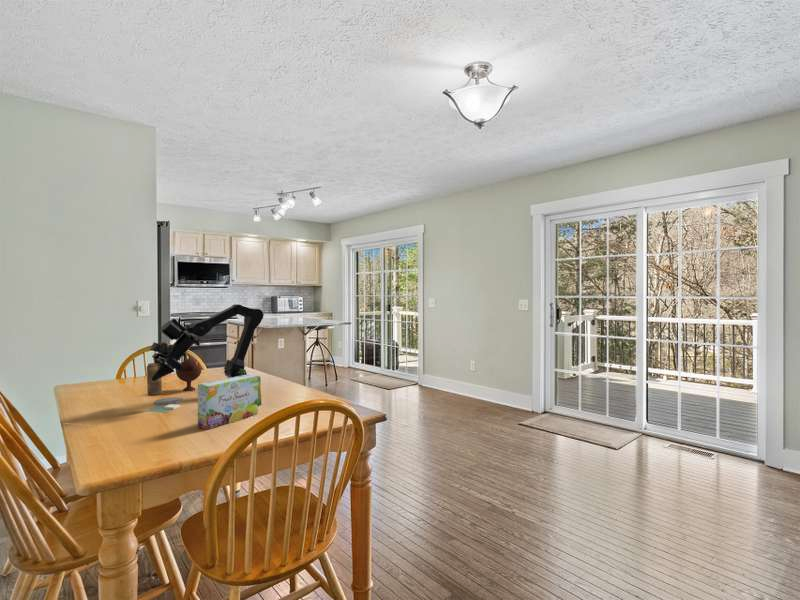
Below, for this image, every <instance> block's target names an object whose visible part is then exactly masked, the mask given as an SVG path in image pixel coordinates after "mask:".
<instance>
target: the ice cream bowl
mask: <svg viewBox="0 0 800 600" xmlns="http://www.w3.org/2000/svg"><path fill="white" fill-rule="evenodd" d="M180 363H181V364H182V369H181V370H180V371H179V372H178V371H176V370H175V374H176V376H177V378H178V379H179V380H181V381H182V382H185V383H186V387H184V388H183V389H182V392H183V391H190V392H194V391H196V388H195V387H193V386H192V382H193V381H196V380H197V379H198V378H199V377H200V376H201V373H202V370H203V369H202V368H201V367H200V365H199V364H197V360H196V359H194V358H192V357H191V358H190V357H188V358H186V359H184V360H183V361H181V362H180ZM193 390H194V391H193Z"/></svg>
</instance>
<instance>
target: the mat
mask: <svg viewBox="0 0 800 600" xmlns="http://www.w3.org/2000/svg"><path fill="white" fill-rule="evenodd" d="M180 408H181V404H168V405H157V406H153V407H151V408H148V409H145V410H144V412H151V413H152V412H153V413H164V414H165V413H169V412H171V411H174V410H177V409H180Z"/></svg>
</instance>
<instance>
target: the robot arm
mask: <svg viewBox="0 0 800 600" xmlns="http://www.w3.org/2000/svg"><path fill="white" fill-rule="evenodd" d="M237 315H238V316H241V317H244V318H243V328H242V332H241V335H240V338H239V340H238V344H237V346H236V349H235V351H234V353H233V357H232V358H231V359H227V360H226V362H225V366H224V367H223V370H224V375H225V376H226V377H227V378H231V377H236V376H241V372H240V369H244V370H245V358H246V356H247V352H248V350H249V348H250V344H251V341H252V338H253V336H254V334H255V331H256V328H258V327H259V325H260V324H261V323H262V321H263V319H264V312H263V310H262V309H260V308H251V307H248V306H244V305H242V304H236V303H235V304H232V305H231V306H230V307H228V308H225V309H223V310H221V311H219V312H217V313H216V314H214V315H211V316H210V317H208V318H207V317H206V318H203V319H200V320H195V321H193V322H191V323H190V324H189V325H182V324H181V323H180V322H178V320H177V319H176V318H171V319H170V320H169V321H167V322H166V323H164V324H163V325H162V326H161V327H160V329H159V331H160V333H162V334H164V335H165V336H166V338H167V339H169V340H171V341H173V340H174V343H173V344H169V345H168V343H166V342H164V341H163V342H161V343H158V342H153V343H152V344H151V347H150V348H149V349H150V351H153V352H154V354H153V355H152V356H151V358H153V359H152V360H153V363H160V368H159V369H158V371H157V372H156V373H155V375H154V376H153V378H152V380H153V381H155V380H157V379H159V378H161V379H162V378H163V377H166V376H167V375H169V374H172V373H176V371H178V372H179V371H180V370H181V369H182V364H181V362H179V361H180V360H181V358H182V357H186V355H187V354H186V353H187V352H188V351H189V350H190V349H191V348H192V347H193V345H195V346H197V347H199V346H200V345H201V343H200V339H199V338H195V337H204V336H205V335H206V334H208V333H209V332H210V331H212V329H213V328H214V327H216V326H218V325H220V324H222V323H223V322H225V321H228V320H229V319H231V318H233V317H235V316H237ZM242 373H243V374H244V375H245V373H244V372H242Z"/></svg>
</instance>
